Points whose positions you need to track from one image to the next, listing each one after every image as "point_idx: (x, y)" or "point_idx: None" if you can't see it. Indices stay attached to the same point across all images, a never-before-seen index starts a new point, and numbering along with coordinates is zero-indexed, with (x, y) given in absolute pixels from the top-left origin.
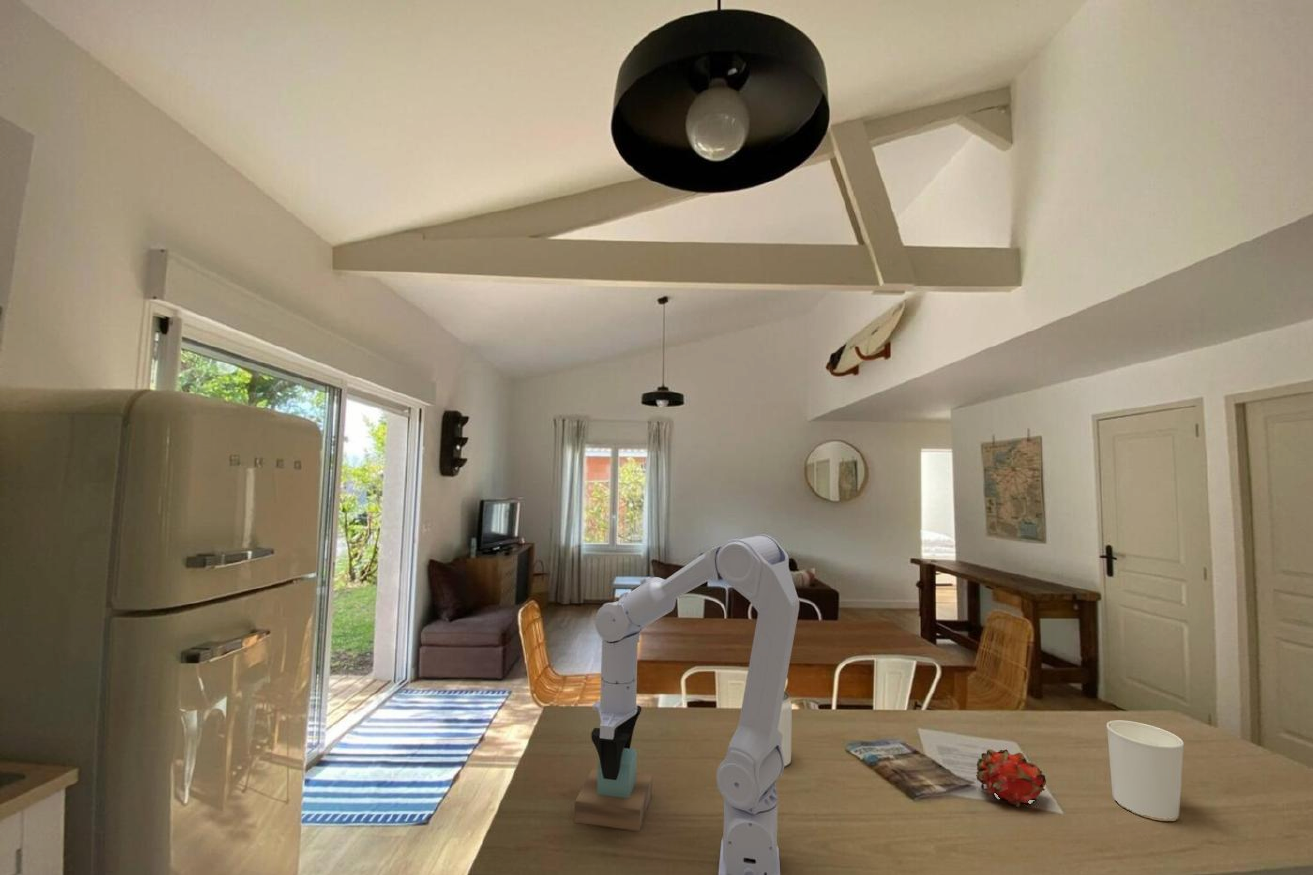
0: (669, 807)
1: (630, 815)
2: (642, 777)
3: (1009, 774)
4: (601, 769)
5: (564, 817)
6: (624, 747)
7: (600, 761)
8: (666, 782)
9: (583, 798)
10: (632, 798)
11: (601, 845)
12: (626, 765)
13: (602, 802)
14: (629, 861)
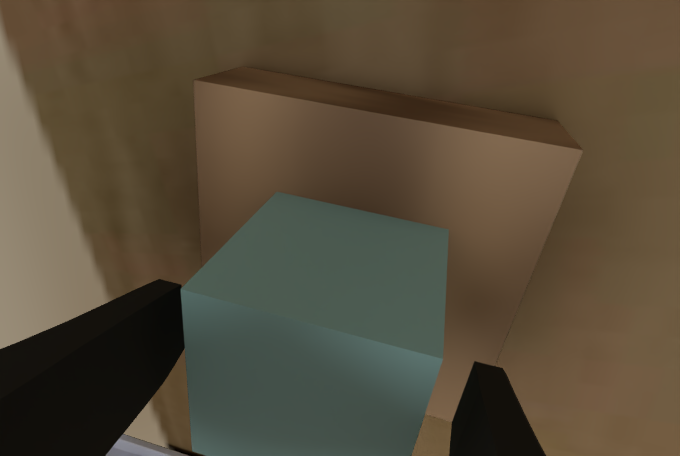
0: None
1: None
2: (448, 389)
3: None
4: (118, 298)
5: (265, 9)
6: (460, 453)
7: (42, 332)
8: (554, 421)
9: (227, 124)
10: None
11: (142, 189)
12: (194, 431)
13: (217, 218)
14: (106, 268)
